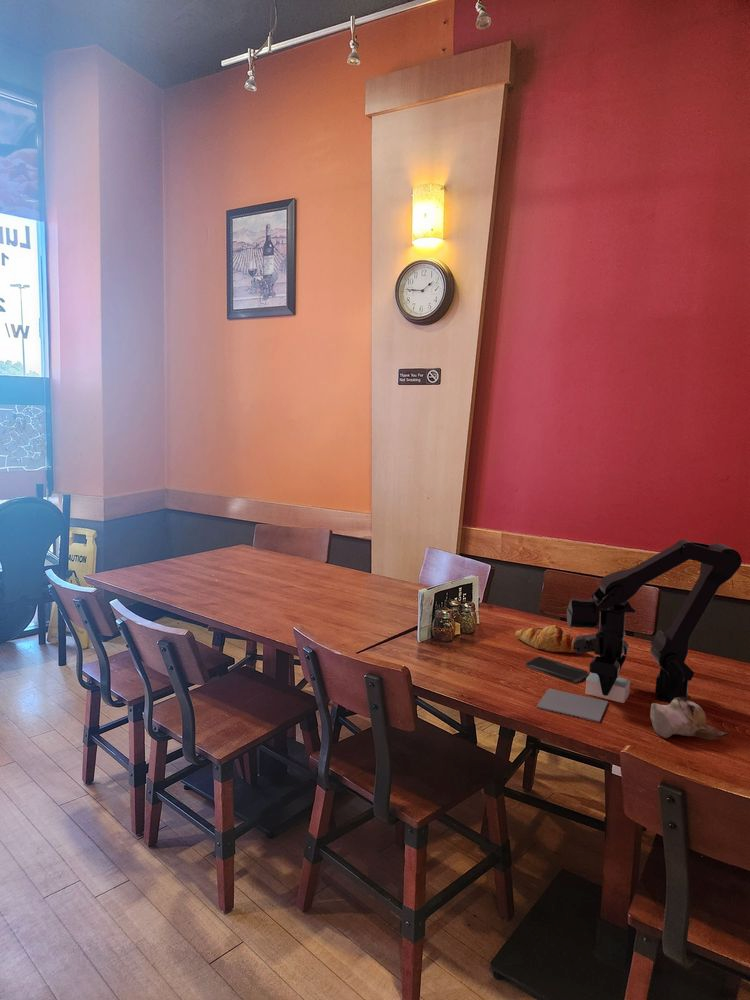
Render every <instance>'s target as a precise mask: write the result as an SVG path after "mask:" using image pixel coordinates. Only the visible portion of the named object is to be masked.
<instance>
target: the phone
mask: <svg viewBox="0 0 750 1000" xmlns="http://www.w3.org/2000/svg"><path fill="white" fill-rule="evenodd" d="M525 667H526V668H527V669H530V670H533V671H536V672H539V673H542V674H545V675H548V676H551V677H554V678H556V679H560V680H564V681H566V682H569V683H571V684H578V683H580V682H581V681H583V680H586V679H587V677H588V676H589V675H590V673H589V671H587V670H584V669H581V668H578V667H574V666H572V665H568V664H565V663H562V662H559V661H557V660H552V659H550V658H547V657H543V656H537V657H535V658H533V659H530V660H529V661H527V662H526V663H525Z"/></svg>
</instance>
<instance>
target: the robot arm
mask: <svg viewBox="0 0 750 1000" xmlns="http://www.w3.org/2000/svg"><path fill="white" fill-rule="evenodd" d="M687 561H694V562H698V563H700V570H699V577H698V578H697V580H696V581H695V583H694V585H693V587H692V589H691V590H690V592H689V594H688V596H687V598H686V599H685V601H684V603H683V604H682V606H681V608H680V609H679V611H678V613H677V615H676V617H675V619H674V620H673V622H672V624H671V626H670V627H669V628H668V629H667V630H664V631H662V630H660V629H658V630H657V631H656V634H655V636H654V638H653V639H652V640H651V641H650V642H649V644H650V645H651V647H650V655H651V656H652V658H653V659H654V660H655V662H656V663H657V665H658V666H659V667H660V670H659V673H658V674H656V677H655V679H656V680H655V692H654V693H655V694H656V700H659V701H660V700H661V701H666V702H669V703H671V702H672V700H673V699H675V698H678V697H685V698H686V699H687V700H688V697H689V693H688V691H689V690H688V688H689V681H692V679H693V677H694V675H695V672H694V670H692V668H691V667H689V665H688V664H686V659H687V657H688V653H689V645H690V639H691V637H692V635H693V633H694V632H695V629H696V628H697V626H698V625H699V622H700V621H701V619H702V618H703V616H704V614H705V612H706V611H707V610H708V607H709V606H710V603H711V602H712V600H713V599H714V597H715V595H716V593H717V592H718V590H719V588H720V587H721V586H722V585H723V584H725V583H726V582H728V581H729V580H731V579H732V578H733V577H734V576H735V574H736V572H738V571H739V569H740V568H741V566H742V564H743V559H742V556H741V555H740V553H739V551H737V550H736V549H733V548H732V547H729V546H728V545H726V544H724V543H720V542H719V543H718V542H717V543H712V544H708V543H707V544H706V543H703V542H696V541H689V540H687V539H680V540H678V541H677V542H676V543H674V544H673V545H670V546H669V547H667V548H666V549H664V550H662V551H660V552H658V553H656V554H655V555H653V556H651V557H649V558H648V559H646V560H644V561H643V562H641V563H639V564H637V565H635V566H634V567H630V568H627V569H621V570H617V571H615V572H613V573H609V574H607V575H605V576H603V577H602V578H601V579H600V583H599V586H598V587H597V588H596V590H595V591H594V592H593V593H592V594H591V595H590V597H589V599H585V598H584V599H580V598H577V597H572V598H569V603H568V606H567V608H566V622H567V626H568V627H569V628H586V629H587V628H588V629H589V628H590V629H593V628H594V627H597V626H598V624H599V626H598V631H597V632H596V633H589V634H584V635H578V636H575V637H574V638H575V639H574V641H573V644H574V647H573V649H574V650H576V654H577V655H582V654H583V653H585V654H586V653H592V652H594V655H595V657H593V658H592V659H591V661H590V663H589V671H588V672H590V674H591V673H595V674H597V675H598V676H599V680H600V684H601V689H602V694H603V695H605V696H608V694H609V692H610V690H611V688H612V686H613V684H614V683H615V681H616V679H617V677H619V675H620V673H621V669H622V667H623V664H624V663H625V661H626V659H627V655H628V653H629V648H630V646H629V643H628V642H627V641H626V640H625V637H626V632H627V631H626V630H625V629H626V628H625V626H626V613H631V614H632V613H633V614H634V613H635V612H636V609H635V608H634V607H633V606H632V605H631V603H630V602H629V600H630V599H631V598H632V597H634V596H635V595H636V594H637V593H638V592H639V590H640V589H641V588H642V587H643V586H644V585H646V584H647V583H650V582H651V581H653V580H655V579H656V578H658V577H660V576H661V575H663V574H665V573H668V572H669V571H671V570H673V569H674V568H676V567H678V566H680V565H681V564H684V563H686V562H687ZM596 655H597V656H596ZM598 655H599V656H598Z"/></svg>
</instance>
